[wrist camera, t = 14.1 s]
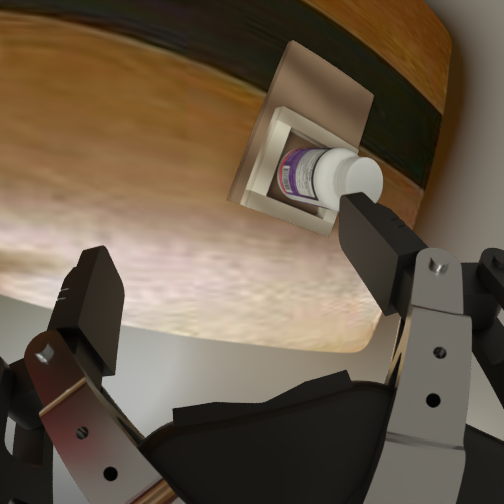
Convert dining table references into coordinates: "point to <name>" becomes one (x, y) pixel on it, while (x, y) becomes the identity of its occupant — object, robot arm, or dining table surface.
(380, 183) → the pill bottle
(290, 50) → the socket board
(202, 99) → the dining table surface
